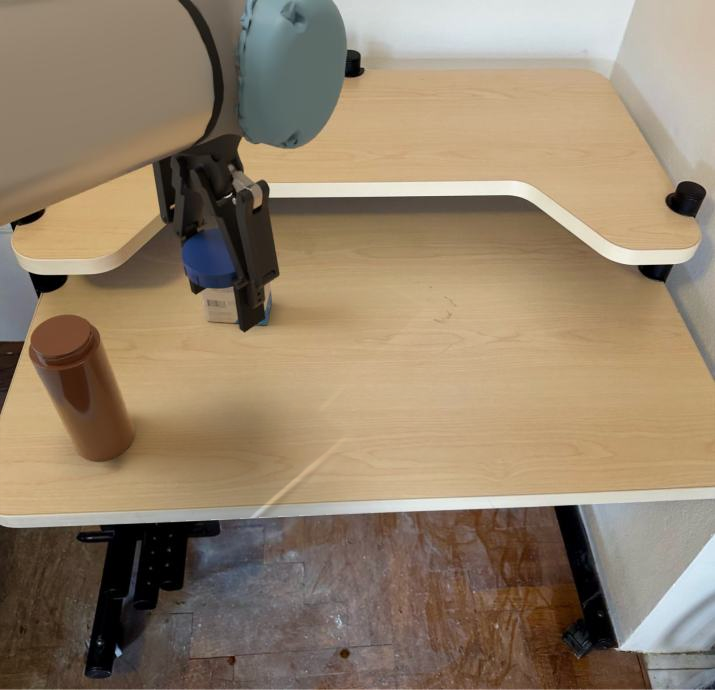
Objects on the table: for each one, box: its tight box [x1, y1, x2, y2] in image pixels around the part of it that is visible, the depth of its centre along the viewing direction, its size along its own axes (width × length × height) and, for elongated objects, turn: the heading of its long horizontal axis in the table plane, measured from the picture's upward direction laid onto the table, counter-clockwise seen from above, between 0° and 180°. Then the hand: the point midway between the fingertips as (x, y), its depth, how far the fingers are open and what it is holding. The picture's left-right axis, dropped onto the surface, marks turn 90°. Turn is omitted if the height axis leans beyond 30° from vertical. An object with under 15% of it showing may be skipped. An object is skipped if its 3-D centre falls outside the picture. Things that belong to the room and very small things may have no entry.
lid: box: [180, 227, 237, 289], centre depth 63 cm, size 7×7×2 cm
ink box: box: [200, 282, 273, 326], centre depth 88 cm, size 8×5×15 cm, turn 85°
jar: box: [28, 313, 136, 462], centre depth 72 cm, size 7×7×17 cm
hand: (227, 304), depth 68 cm, fingers closed on lid, 7 cm apart
